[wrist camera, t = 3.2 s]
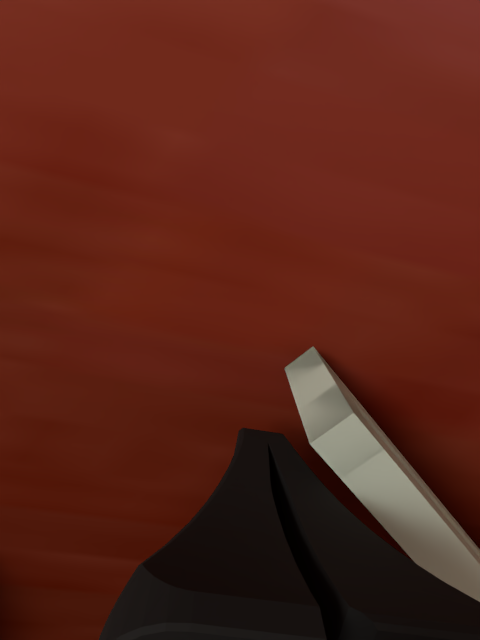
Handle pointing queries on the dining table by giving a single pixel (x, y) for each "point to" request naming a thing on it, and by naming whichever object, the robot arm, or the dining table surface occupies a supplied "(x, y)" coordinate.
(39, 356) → the dining table surface
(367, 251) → the dining table surface
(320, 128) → the dining table surface
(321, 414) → the bar
